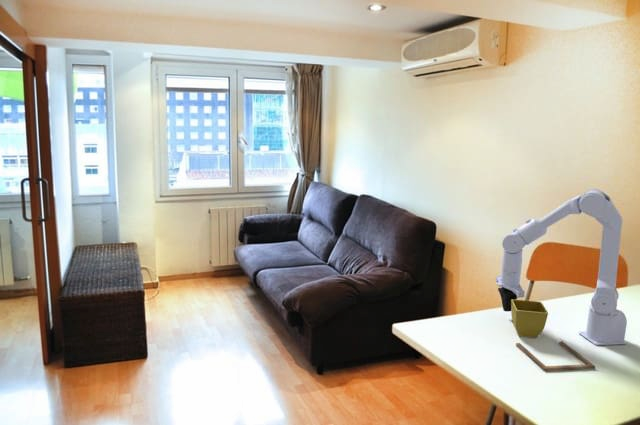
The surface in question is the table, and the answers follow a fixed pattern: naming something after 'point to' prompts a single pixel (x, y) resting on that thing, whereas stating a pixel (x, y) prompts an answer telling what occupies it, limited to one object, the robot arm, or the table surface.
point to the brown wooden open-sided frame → (564, 367)
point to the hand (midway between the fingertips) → (507, 310)
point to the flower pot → (528, 317)
